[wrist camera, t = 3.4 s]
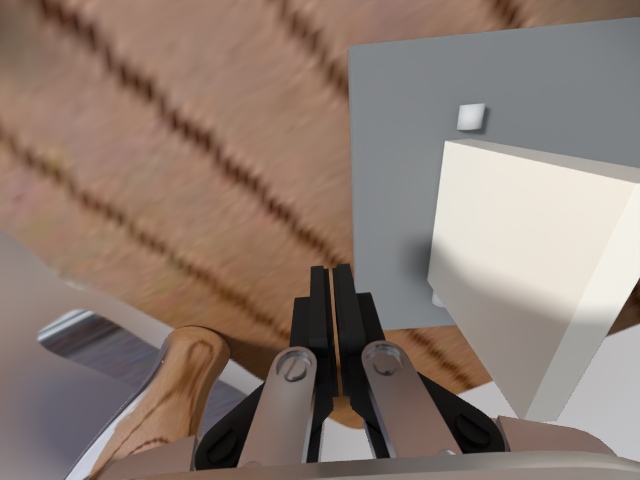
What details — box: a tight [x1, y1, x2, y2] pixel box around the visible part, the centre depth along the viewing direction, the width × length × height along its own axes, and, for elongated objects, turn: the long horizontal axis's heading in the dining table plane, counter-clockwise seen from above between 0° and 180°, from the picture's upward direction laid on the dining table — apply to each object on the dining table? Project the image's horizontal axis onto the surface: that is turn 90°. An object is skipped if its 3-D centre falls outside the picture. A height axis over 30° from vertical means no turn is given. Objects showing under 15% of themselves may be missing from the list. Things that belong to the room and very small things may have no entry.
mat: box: [348, 17, 640, 330], centre depth 17 cm, size 20×20×2 cm
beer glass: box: [63, 326, 230, 480], centre depth 18 cm, size 7×7×15 cm
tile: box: [427, 139, 640, 422], centre depth 13 cm, size 10×2×10 cm, turn 5°
